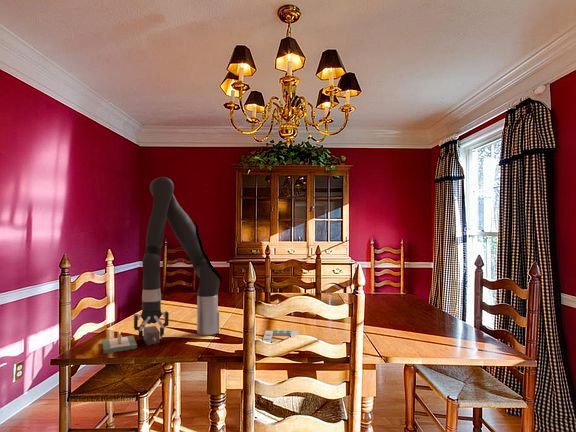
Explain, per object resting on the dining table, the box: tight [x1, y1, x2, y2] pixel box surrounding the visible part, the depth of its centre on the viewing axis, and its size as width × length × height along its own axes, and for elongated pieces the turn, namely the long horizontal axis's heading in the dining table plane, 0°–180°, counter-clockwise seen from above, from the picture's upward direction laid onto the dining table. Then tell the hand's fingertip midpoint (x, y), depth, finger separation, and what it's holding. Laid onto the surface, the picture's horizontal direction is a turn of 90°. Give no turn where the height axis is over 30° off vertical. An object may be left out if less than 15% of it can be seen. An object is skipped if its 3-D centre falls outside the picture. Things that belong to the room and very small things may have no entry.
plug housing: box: [143, 325, 161, 346], centre depth 157 cm, size 5×14×5 cm, turn 29°
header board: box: [101, 335, 138, 355], centre depth 153 cm, size 12×14×2 cm
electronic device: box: [262, 329, 300, 342], centre depth 162 cm, size 18×2×15 cm
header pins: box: [116, 331, 122, 344], centre depth 153 cm, size 1×6×4 cm, turn 28°
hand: (151, 337), depth 159 cm, fingers open, 7 cm apart
